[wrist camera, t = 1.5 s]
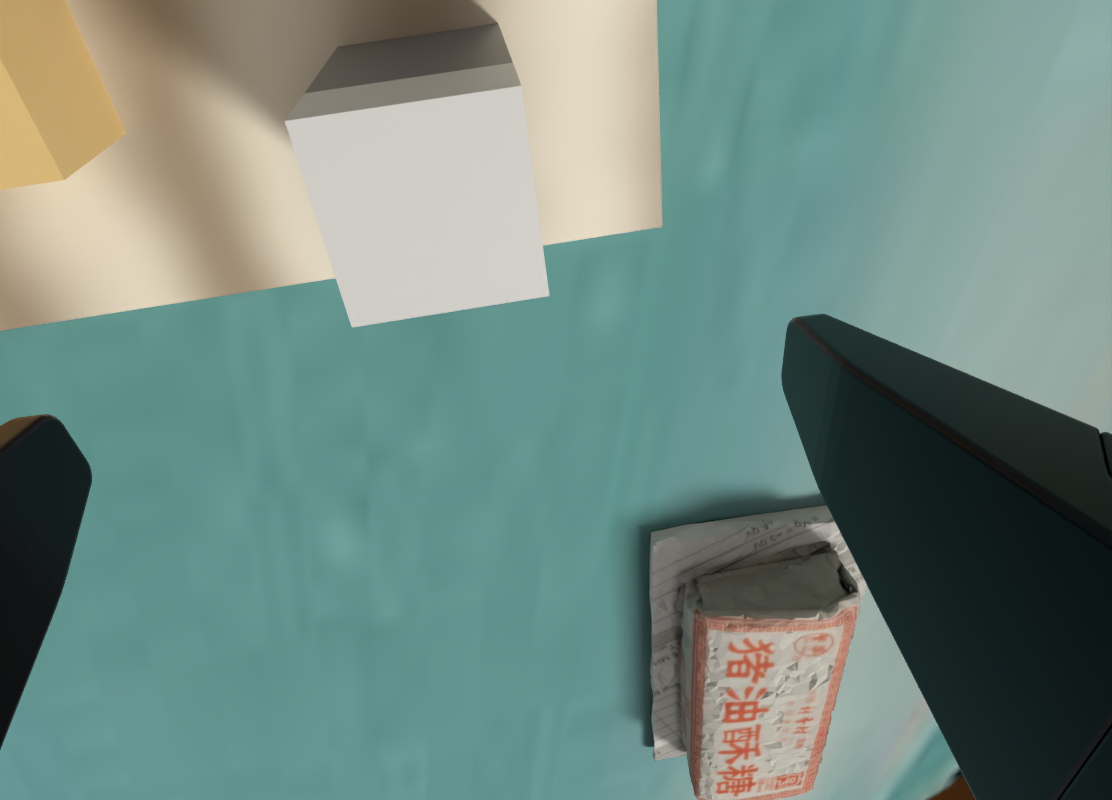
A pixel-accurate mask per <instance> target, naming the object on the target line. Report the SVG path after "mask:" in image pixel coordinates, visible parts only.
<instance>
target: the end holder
mask: <svg viewBox="0 0 1112 800" xmlns="http://www.w3.org/2000/svg"><path fill="white" fill-rule="evenodd" d="M125 134H126V132H125V130H124V128H123V125H122V123H121V121H120V119H119V117H118V114H117V112H116V110H115V108H114V106H113V104H112V101H111V99H110V97H109V95H108V93H107V90H106V88H105V86H104V84H103V82H102V79H101V77H100V75H99V73H98V71H97V69H96V66H95V64H94V62H93V60H92V58H91V55H90V53H89V51H88V49H87V47H86V45H85V42H84V40H83V38H82V36H81V34H80V31H79V29H78V27H77V25H76V23H75V21H74V18H73V16H72V14H71V12H70V10H69V7H68V5H67V3H66V1H65V0H0V190H2V189H9V188H16V187H22V186H29V185H36V184H42V183H49V182H56V181H62V180H65V179H67V178H68V177H69V176H71V175H72V174H73V173H75V172H76V171H77V170H79V169H80V168H81V167H83V166H84V165H85V164H87V163H88V162H89V161H91V160H92V159H93V158H95V157H96V156H97V155H99V154H100V153H101V152H102V151H104V150H105V149H106V148H108V147H109V146H110V145H112V144H113V143H114V142H116V141H117V140H118V139H120V138H121V137H122V136H124V135H125Z"/></svg>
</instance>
